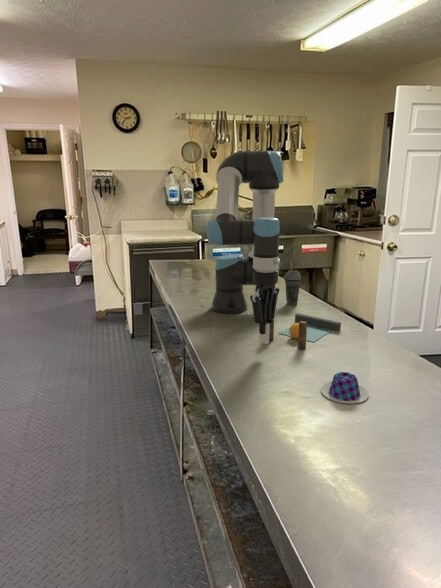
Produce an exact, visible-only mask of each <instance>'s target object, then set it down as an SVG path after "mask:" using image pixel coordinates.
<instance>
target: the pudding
mask: <svg viewBox="0 0 441 588" xmlns="http://www.w3.org/2000/svg"><path fill="white" fill-rule="evenodd" d="M328 389H329V390H328ZM320 391H321V393H322V395H324V397H325V398H328V399H329V400H330V401H333V402H337V403H342V404H359V403H362V402H365V401H366V400H368V398H369V392H368V391H367V389H365V388H364V387H362V386H361V385H359V381H358V377H357V376H356V375H355V374H353V373H350V372H347V371H346V372H344V371H339V372H336V373H335V374H334V375H333V378H332V380H331V381H329V382H327V383H325V384H323V385H322V386H321V387H320ZM331 396H332V397H331ZM358 398H359V399H358ZM341 399H342V400H341ZM343 400H344V401H345V402H343Z"/></svg>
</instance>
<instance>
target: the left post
mask: <svg viewBox="0 0 441 588" xmlns="http://www.w3.org/2000/svg"><path fill="white" fill-rule="evenodd" d="M271 315H272V314H271ZM271 320H273V323H270V330H269V342H273V341H274V335H275V334H274V333H275V330H274V329H275V318H274V319H271Z"/></svg>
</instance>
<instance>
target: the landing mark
mask: <svg viewBox="0 0 441 588" xmlns="http://www.w3.org/2000/svg"><path fill="white" fill-rule="evenodd" d="M289 329H290V327H287V328H286V329H284V330H282V331H280V332H279V333H278V334H279V335H283V336H287V337H290V338H293V337H292V336H291V335H290V333H289ZM330 333H332V330H328V329H324V328H320V327H315V326H311V325H307V334H306V342H311V343H316V341H317V342H318V340H320V339H322V338H323V337H325V336H326V335H328V334H330Z"/></svg>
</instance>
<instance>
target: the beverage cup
mask: <svg viewBox="0 0 441 588" xmlns="http://www.w3.org/2000/svg"><path fill="white" fill-rule="evenodd" d="M289 263H290V269H289V270H288V271H287V272H286V273H285V276H284V284H285V297H286V299H285V300H286V305H287V306H291V307H292V306H293V307H294V306H297V305H298V301H299V293H300V286H301V282H302V277H301V276H302V275H301V273H300V272H299V271H298V270H297V269H293V264H292V259H290V262H289Z"/></svg>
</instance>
